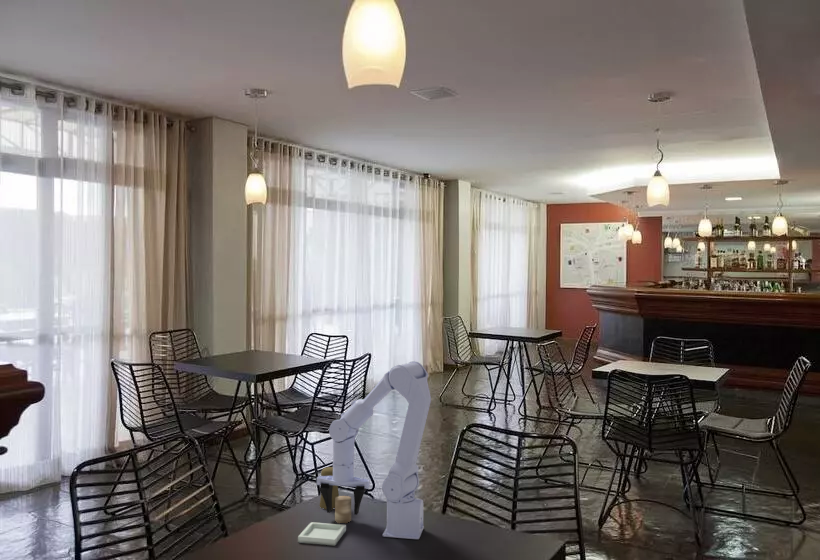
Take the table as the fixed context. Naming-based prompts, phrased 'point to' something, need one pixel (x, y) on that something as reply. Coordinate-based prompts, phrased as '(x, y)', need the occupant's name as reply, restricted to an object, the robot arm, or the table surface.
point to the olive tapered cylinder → (329, 472)
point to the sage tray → (322, 533)
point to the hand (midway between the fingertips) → (342, 512)
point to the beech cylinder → (343, 509)
